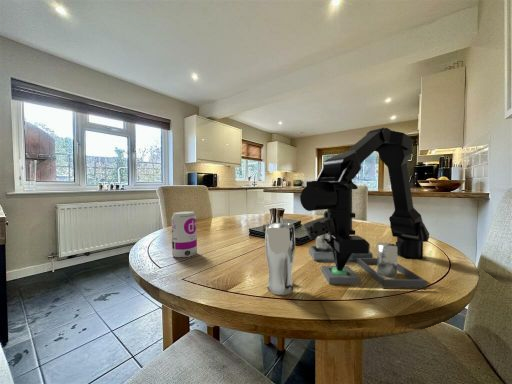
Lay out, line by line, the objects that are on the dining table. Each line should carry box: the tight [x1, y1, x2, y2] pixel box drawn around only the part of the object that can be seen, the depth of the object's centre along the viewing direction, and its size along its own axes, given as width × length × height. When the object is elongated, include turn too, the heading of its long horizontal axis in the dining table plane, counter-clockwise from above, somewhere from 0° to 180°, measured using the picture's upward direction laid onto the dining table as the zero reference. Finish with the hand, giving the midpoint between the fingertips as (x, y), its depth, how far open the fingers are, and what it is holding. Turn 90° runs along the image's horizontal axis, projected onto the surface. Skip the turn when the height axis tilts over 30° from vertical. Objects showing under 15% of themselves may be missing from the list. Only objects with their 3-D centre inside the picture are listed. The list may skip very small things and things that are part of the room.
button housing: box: [321, 265, 361, 285], centre depth 52 cm, size 7×7×2 cm
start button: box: [332, 267, 347, 275], centre depth 52 cm, size 4×4×2 cm
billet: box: [376, 242, 398, 279], centre depth 54 cm, size 4×4×8 cm
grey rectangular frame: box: [356, 257, 427, 291], centre depth 54 cm, size 9×14×2 cm, turn 177°
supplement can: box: [171, 210, 198, 258], centre depth 73 cm, size 8×8×15 cm
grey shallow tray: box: [308, 245, 373, 264], centre depth 67 cm, size 17×10×4 cm, turn 87°
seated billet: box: [315, 234, 330, 252], centre depth 67 cm, size 4×4×8 cm
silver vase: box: [264, 222, 296, 296], centre depth 49 cm, size 7×7×15 cm
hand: (339, 270), depth 52 cm, fingers closed, pressing on start button
